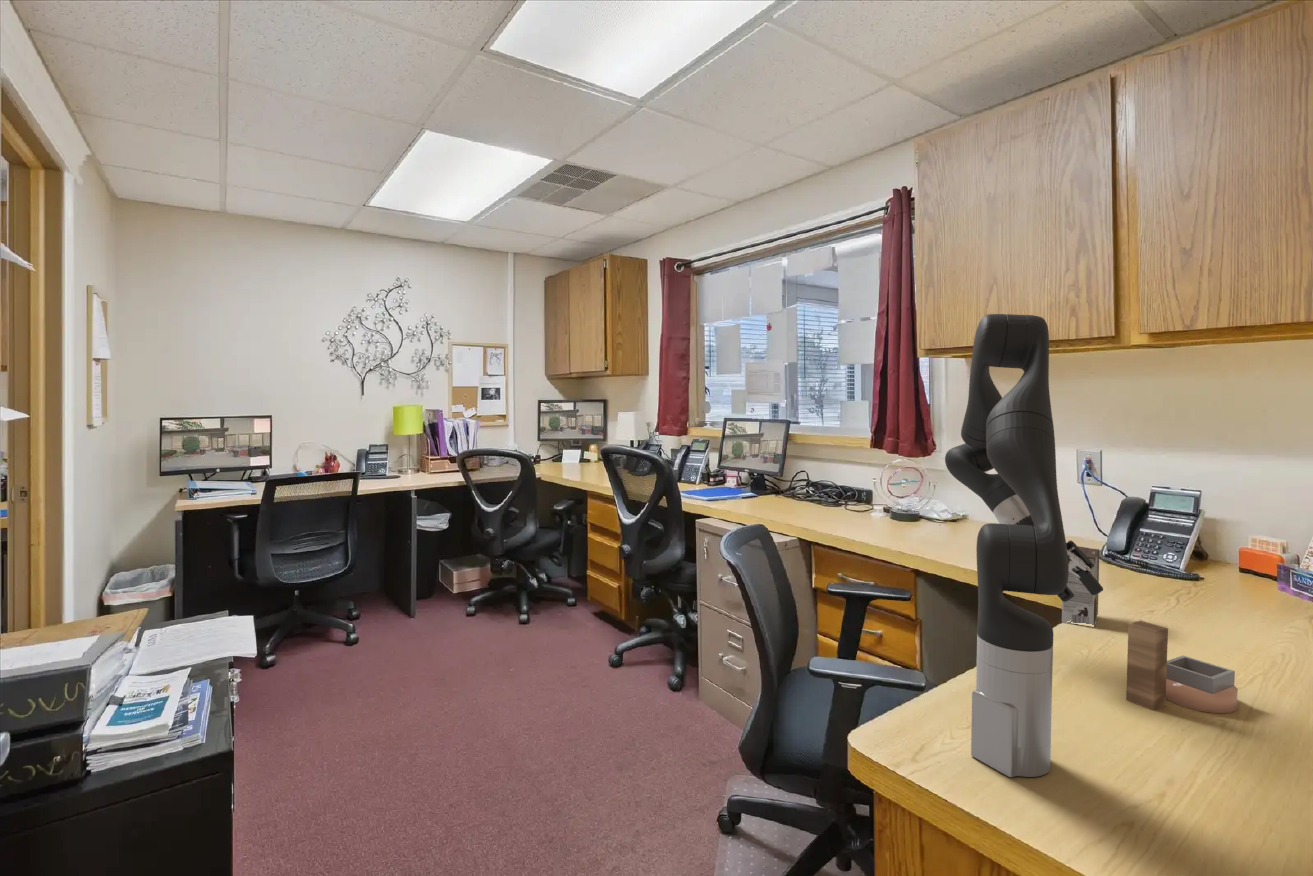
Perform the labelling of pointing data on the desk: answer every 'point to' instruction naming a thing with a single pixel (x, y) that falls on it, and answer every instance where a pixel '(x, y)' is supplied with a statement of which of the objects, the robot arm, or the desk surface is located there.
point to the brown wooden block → (1147, 664)
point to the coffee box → (1082, 594)
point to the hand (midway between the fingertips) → (1084, 596)
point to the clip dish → (1201, 685)
